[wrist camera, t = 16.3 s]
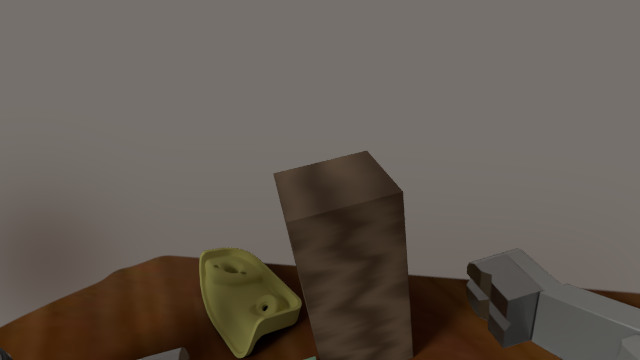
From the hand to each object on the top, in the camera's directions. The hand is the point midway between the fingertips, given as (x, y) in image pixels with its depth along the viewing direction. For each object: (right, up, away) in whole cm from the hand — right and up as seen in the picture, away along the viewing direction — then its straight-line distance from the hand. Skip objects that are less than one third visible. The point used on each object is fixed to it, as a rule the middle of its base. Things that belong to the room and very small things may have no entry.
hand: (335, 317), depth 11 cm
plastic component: (-12, -17, +53) cm, 57 cm away
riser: (+5, -19, +44) cm, 48 cm away
